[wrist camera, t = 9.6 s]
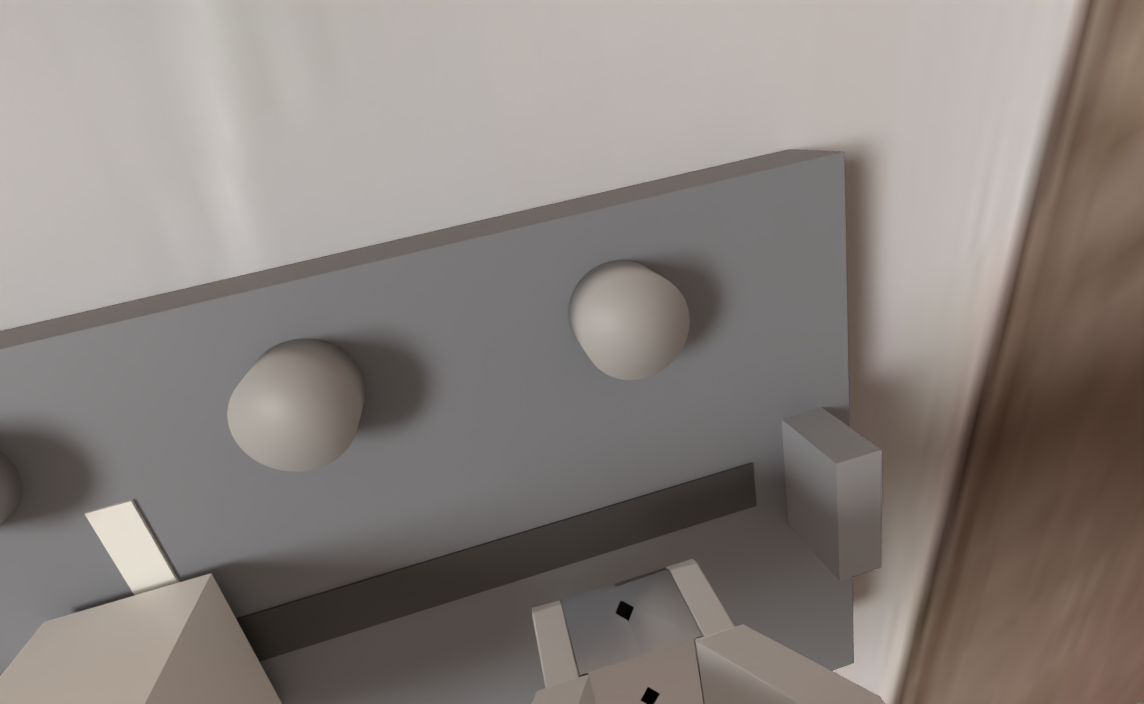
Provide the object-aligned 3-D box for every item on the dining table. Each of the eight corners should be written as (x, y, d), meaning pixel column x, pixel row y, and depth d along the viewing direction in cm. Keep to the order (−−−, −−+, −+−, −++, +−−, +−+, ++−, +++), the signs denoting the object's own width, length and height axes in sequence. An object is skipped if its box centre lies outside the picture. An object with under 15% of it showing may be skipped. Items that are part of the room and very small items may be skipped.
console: (788, 149, 13) (921, 154, 10) (812, 611, 19) (905, 727, 15) (-338, 408, 11) (-745, 552, 7) (63, 867, 16) (-49, 1089, 12)
